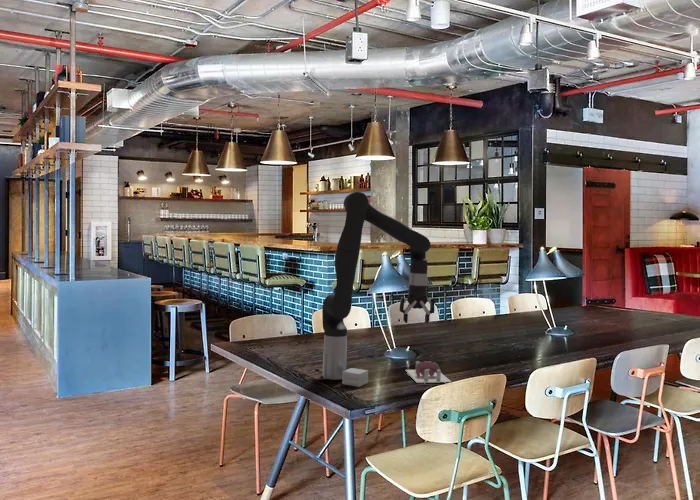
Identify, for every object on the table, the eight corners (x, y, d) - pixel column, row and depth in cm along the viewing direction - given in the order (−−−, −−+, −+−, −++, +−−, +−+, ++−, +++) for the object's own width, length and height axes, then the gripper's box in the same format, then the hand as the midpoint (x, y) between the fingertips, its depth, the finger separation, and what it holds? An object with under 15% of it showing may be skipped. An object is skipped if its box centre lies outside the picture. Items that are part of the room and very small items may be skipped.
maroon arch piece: (439, 379, 258) (438, 362, 260) (441, 377, 253) (440, 359, 256) (415, 379, 257) (414, 362, 260) (416, 376, 253) (416, 359, 256)
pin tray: (416, 384, 247) (417, 371, 247) (405, 372, 267) (405, 360, 267) (451, 384, 249) (451, 371, 249) (437, 371, 269) (438, 360, 268)
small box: (368, 383, 248) (369, 370, 248) (359, 387, 241) (359, 374, 241) (351, 380, 252) (351, 367, 251) (341, 384, 245) (342, 371, 244)
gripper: (402, 284, 256) (401, 324, 257) (437, 285, 258) (435, 325, 258) (399, 282, 264) (397, 321, 264) (432, 283, 265) (430, 322, 266)
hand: (416, 323), depth 261 cm, fingers open, 8 cm apart
